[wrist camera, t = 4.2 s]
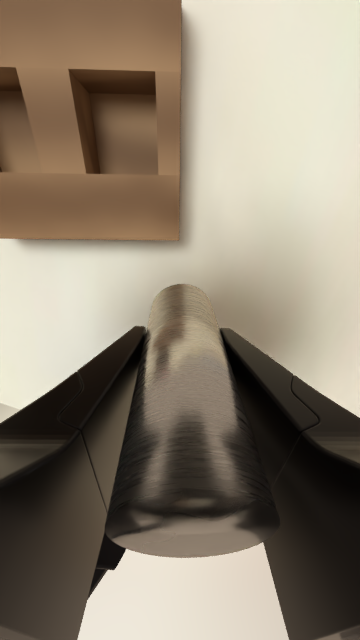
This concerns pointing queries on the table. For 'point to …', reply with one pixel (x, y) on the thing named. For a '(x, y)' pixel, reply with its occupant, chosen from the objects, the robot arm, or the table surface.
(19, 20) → the block
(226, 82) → the table surface
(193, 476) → the pin
